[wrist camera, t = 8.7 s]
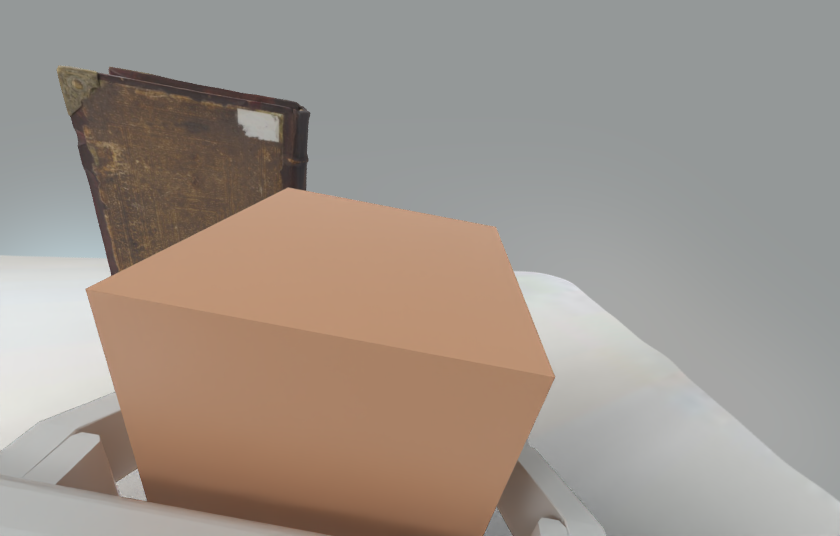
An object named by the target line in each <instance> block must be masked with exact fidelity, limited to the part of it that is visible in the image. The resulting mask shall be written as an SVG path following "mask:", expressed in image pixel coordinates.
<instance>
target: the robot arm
mask: <svg viewBox="0 0 840 536" xmlns="http://www.w3.org/2000/svg"><path fill="white" fill-rule="evenodd" d="M137 468H138V467H137V464H136V461H135V457H134V454H133V450H132V447H131V443H130V440H129V437H128V433H127V430H126V426H125V423H124V419H123V416H122V412H121V409H120V406H119V402H118V399H117V395H116V392H113V393H111V394H108V395H106V396H103V397H101V398H98V399H96V400H93V401H91V402H88V403H86V404H83V405H81V406H78V407H75V408H73V409H70V410H68V411H65V412H63V413H60V414H58V415H55V416H53V417H50V418H48V419H45V420H43V421H40V422H38V423H37V424H35V425H34V426H33V427H32V428H30V429H29V430H28V431H26V432H25V433H24V434H22V435H21V436H20V437H18V438H17V439H16V440H15V441H13V442H12V443H11V444H9V445H8V446H7V447H5V448H4V449H3V450H1V451H0V536H332V535H326V534H321V533H316V532H310V531H305V530H299V529H294V528H288V527H283V526H277V525H272V524H266V523H261V522H256V521H250V520H245V519H239V518H234V517H228V516H223V515H217V514H212V513H207V512H201V511H196V510H190V509H185V508H180V507H174V506H169V505H163V504H158V503H152V502H147V501H142V500H136V499H131V498H125V497H121V496H120V493H119V490H118V487H117V484H116V482H117V481H119V480H120V479H122V478H123V477H125V476H126V475H128V474H129V473H131V472H133V471H134V470H136V469H137ZM497 508H498V510H499V512H500V513H501V515H502V517H503V519H504V521H505V522H506V524H507V526H508V528H509V530H510V531H511V533H512V535H513V536H606V533H605V531H604V528H603V527H602V525H601V524H600V523H599V522H598V521H597V520H596V518H595V517H594V516H593V515H592V514H591V513H590V511H589V510H588V509H587V508H586V507H585V506H584V505H583V503H582V502H581V501H580V500H579V499H578V498H577V496H576V495H575V494H574V493H573V492H572V491H571V490H570V488H569V487H568V486H567V485H566V484H565V483H564V481H563V480H562V479H561V478H560V477H559V476H558V475H557V473H556V472H555V471H554V470H553V469H552V468H551V466H550V465H549V464H548V463H547V462H546V461H545V459H544V458H543V457H542V456H541V455H540V454H539V453H538V451H537V450H536V449H535V448H532V447H529V443H528V439H527V440H526V442H525V445H524V447H523V449H522V451H521V453H520V456H519V458H518V460H517V462H516V464H515V467H514V469H513V471H512V473H511V475H510V478H509V480H508V482H507V484H506V486H505V489H504V491H503V493H502V495H501V497H500V500H499V502H498V504H497Z"/></svg>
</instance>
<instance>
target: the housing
mask: <svg viewBox="0 0 840 536" xmlns="http://www.w3.org/2000/svg"><path fill="white" fill-rule="evenodd" d="M86 292H87V296H88V299H89V302H90V306H91V309H92V313H93V316H94V320H95V323H96V327H97V330H98V333H99V337H100V340H101V344H102V347H103V351H104V354H105V357H106V361H107V364H108V368H109V371H110V375H111V378H112V382H113V385H114V388H115V392H116V395H117V399H118V402H119V406H120V409H121V412H122V416H123V419H124V423H125V426H126V430H127V433H128V437H129V440H130V443H131V447H132V450H133V454H134V457H135V461H136V464H137V467H138V471H139V474H140V478H141V481H142V485H143V488H144V492H145V495H146V498H147V502H152V503H158V504H163V505H169V506H174V507H180V508H185V509H190V510H196V511H201V512H207V513H212V514H217V515H223V516H228V517H234V518H239V519H245V520H250V521H256V522H261V523H266V524H272V525H277V526H283V527H288V528H294V529H299V530H305V531H310V532H316V533H321V534H326V535H332V536H483V535H484V533H485V530H486V528H487V526H488V524H489V522H490V519H491V517H492V515H493V513H494V511H495V508H496V506H497V504H498V502H499V500H500V497H501V495H502V493H503V491H504V489H505V486H506V484H507V482H508V480H509V478H510V475H511V473H512V471H513V469H514V467H515V464H516V462H517V460H518V458H519V456H520V453H521V451H522V449H523V447H524V445H525V442H526V440H527V438H528V436H529V434H530V431H531V429H532V427H533V425H534V423H535V420H536V418H537V416H538V414H539V412H540V409H541V407H542V405H543V403H544V401H545V398H546V396H547V394H548V392H549V390H550V387H551V385H552V383H553V381H554V379H555V376H554V373H553V371H552V368H551V366H550V363H549V361H548V358H547V356H546V353H545V350H544V348H543V345H542V343H541V340H540V338H539V335H538V333H537V330H536V328H535V325H534V323H533V320H532V317H531V315H530V312H529V310H528V307H527V305H526V302H525V300H524V297H523V295H522V292H521V290H520V287H519V284H518V282H517V279H516V277H515V274H514V272H513V269H512V267H511V264H510V262H509V259H508V257H507V254H506V252H505V249H504V246H503V244H502V241H501V239H500V237H499V234H498V231H497V229H496V227H493V226H487V225H482V224H477V223H472V222H467V221H461V220H456V219H451V218H446V217H440V216H435V215H430V214H425V213H419V212H414V211H409V210H404V209H398V208H393V207H388V206H383V205H377V204H372V203H367V202H362V201H356V200H351V199H346V198H341V197H335V196H330V195H325V194H319V193H314V192H309V191H304V190H299V189H293V188H286V189H284V190H282V191H280V192H278V193H276V194H274V195H272V196H270V197H268V198H266V199H264V200H262V201H260V202H258V203H256V204H254V205H252V206H250V207H248V208H246V209H244V210H242V211H240V212H238V213H236V214H234V215H232V216H230V217H228V218H226V219H224V220H222V221H220V222H218V223H216V224H214V225H212V226H210V227H208V228H206V229H204V230H202V231H200V232H198V233H196V234H194V235H192V236H190V237H188V238H186V239H184V240H182V241H180V242H178V243H176V244H174V245H172V246H170V247H168V248H166V249H164V250H162V251H160V252H158V253H156V254H154V255H152V256H150V257H148V258H146V259H144V260H142V261H140V262H138V263H136V264H134V265H132V266H130V267H128V268H126V269H124V270H122V271H120V272H118V273H116V274H114V275H112V276H110V277H108V278H106V279H104V280H102V281H100V282H98V283H96V284H94V285H92V286H90V287H88V288H86Z"/></svg>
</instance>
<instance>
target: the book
mask: <svg viewBox="0 0 840 536" xmlns="http://www.w3.org/2000/svg"><path fill="white" fill-rule="evenodd" d="M57 73H58V78H59V82H60V86H61V90H62V93H63V97H64V100H65V104H66V108H67V111H68V114H69V115H70V117H71V120H72V124H73V127H74V129H75V131H76V133H77V136H78V149H79V153H80V157H81V161H82V165H83V167H84V170H85V172H86V175H87V178H88V182H89V185H90V189H91V193H92V197H93V202H94V206H95V210H96V214H97V218H98V223H99V227H100V230H101V234H102V238H103V242H104V246H105V250H106V255H107V259H108V263H109V267H110V271H111V276H112V275H114V274H116V273H118V272H120V271H122V270H124V269H126V268H128V267H130V266H132V265H134V264H136V263H138V262H140V261H142V260H144V259H146V258H148V257H150V256H152V255H154V254H156V253H158V252H160V251H162V250H164V249H166V248H168V247H170V246H172V245H174V244H176V243H178V242H180V241H182V240H184V239H186V238H188V237H190V236H192V235H194V234H196V233H198V232H200V231H202V230H204V229H206V228H208V227H210V226H212V225H214V224H216V223H218V222H220V221H222V220H224V219H226V218H228V217H230V216H232V215H234V214H236V213H238V212H240V211H242V210H244V209H246V208H248V207H250V206H252V205H254V204H256V203H258V202H260V201H262V200H264V199H266V198H268V197H270V196H272V195H274V194H276V193H278V192H280V191H282V190H284V189H286V188H293V189H299V190H304V191H306V170H307V162H308V156H307V139H308V123H309V117H310V112H308V111H307V110H306V109H305V108H304V107H302V106H300V105H299V104H298V103H297V102H293V101H288V100H283V99H277V98H271V97H265V96H260V95H253V94H244V93H239V92H235V91H230V90H224V89H219V88H214V87H208V86H202V85H197V84H192V83H187V82H183V81H177V80H172V79H169V78H165V77H161V76H156V75H153V74H149V73H143V72H137V71H132V70H126V69H121V68H113V67H109V74H103V73H98V72H96V71H93V70H86V69H81V68H76V67H71V66H58V68H57Z"/></svg>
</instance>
